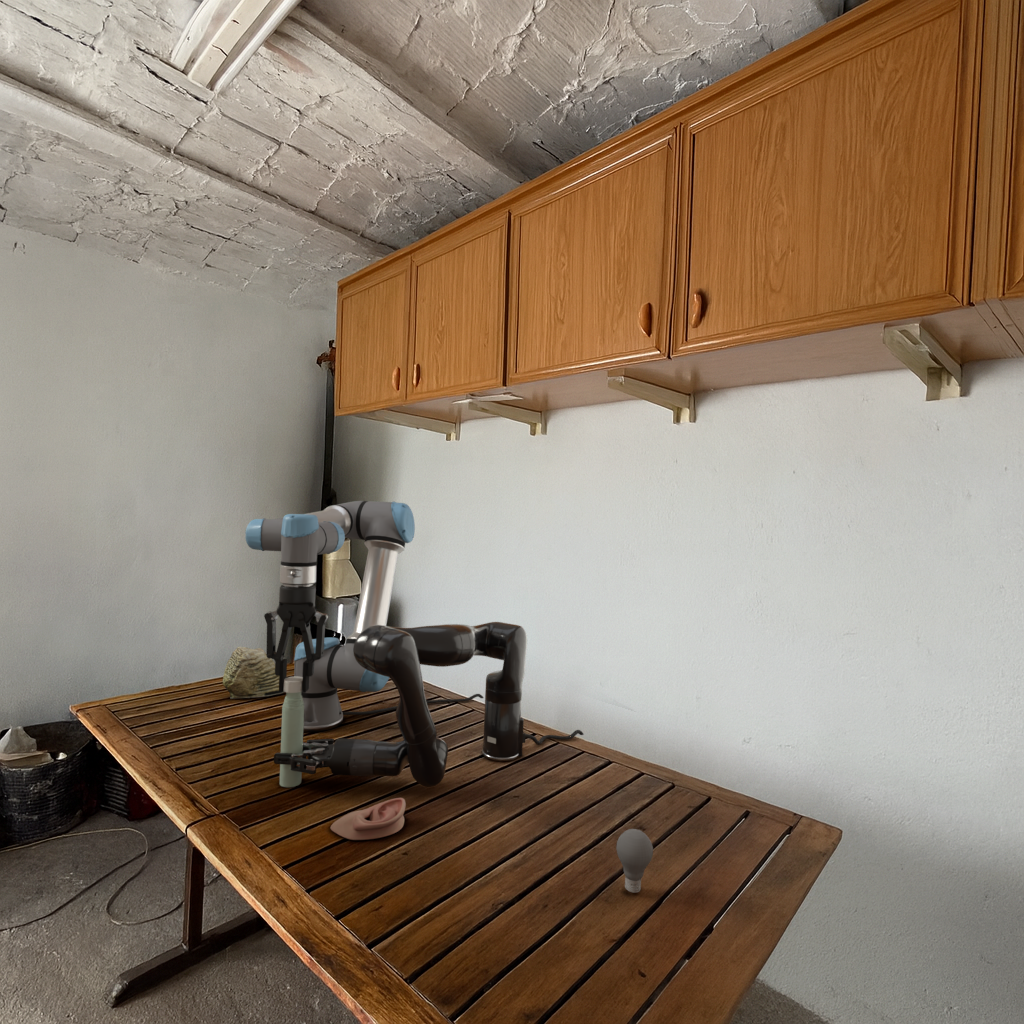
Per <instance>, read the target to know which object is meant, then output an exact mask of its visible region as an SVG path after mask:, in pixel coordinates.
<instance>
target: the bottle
mask: <svg viewBox="0 0 1024 1024" xmlns="http://www.w3.org/2000/svg"><path fill="white" fill-rule="evenodd" d="M303 726H304V703H303V698H302V695H301V692H298V693H287V692H285V697H284V700H283V704H282V706H281V731H280V732H281V733H280V753H292V754H294V753H302V752H303V743H304V732H303ZM298 758H302V757H298ZM298 767H300V766H298ZM302 774H303V772H298V771H292V770H291V765H287V764H279V786H280V787H283V788H295V787H296V786H299V785H300V784H302V779H303V777H302V776H303V775H302Z"/></svg>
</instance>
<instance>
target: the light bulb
mask: <svg viewBox="0 0 1024 1024" xmlns="http://www.w3.org/2000/svg"><path fill="white" fill-rule="evenodd" d="M615 849H616V854H617V857H618V859H619V861H620V863H621V865H622V867H623V873H624V874H623V875H624V876H625V878H624V888H625V890H627V891H628V892H630V893H634V894H635V893H639V892H640V891H641V889H642V887H641V886H642V879H643V877H644V875H645V871H646V868H647V867H648V866H649V864H650V863H651V861H652V859H653V855H654V847H653V843H652V841H651V838H649V836H648V835H647V834H646V833H645V832H643V831H642V830H641V829H636V828H629V829H627V830H625V831H623V832H622V833H621V834H620V835H619V837H618V839H617V841H616V847H615Z"/></svg>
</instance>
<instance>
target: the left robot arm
mask: <svg viewBox="0 0 1024 1024" xmlns="http://www.w3.org/2000/svg"><path fill="white" fill-rule="evenodd" d="M413 513H414V512H413V511H412V508H411V507H410V506H409V505H408V504H407V503H406V502H405V503H404V502H396V501H378V500H377V501H374V500H354V501H348V502H343V503H338V504H333V505H329V506H327V507H326V508H324V509H323V510H319V511H313V512H307V513H287V514H285V515H284V516H283V517H278V518H265V517H263V518H255V519H251V520H250V521H249V523H247V525H246V529H245V541H246V542H245V543H246V544H247V546H248V547H249V548H250V549H251V550H256V551H262V552H280V565H279V568H280V569H279V574H280V575H279V583H280V584H281V585H280V586H279V592H278V593H279V597H278V606H277V607H276V609H275V610H273V611H272V610H271V611H267V612H266V613H264V615H263V617H264V620H265V623H266V654H267V658H271V659H272V660H273V661H274V663H275V675H277V676H279V692H283V690H284V679H285V678H287V674H288V658H285V654H286V649H287V645H288V642H289V639H290V634H291V632H292V628H299V630H300V632H301V636H302V642H299V643H298V644H297V645H296V647H295V652H294V653H295V654H294V659H293V661H294V672H293V677H294V676H298V677H303V679H302V692H301V695H302V698H303V703H304V726H303V733H316V732H325V731H329V730H332V729H335V728H337V727H339V726H340V725H342V723H343V722H344V716H365V715H374V714H379V713H385V712H389V711H394V710H395V711H396V710H397V705H393V706H389V707H385V708H380V709H375V710H367V711H343V709H342V706H341V702H340V699H339V695H338V689H339V690H347V691H357V692H362V693H377V692H379V691H381V690H382V689H383V688H384V687H385V686H386V684H388V682H389V680H390V677H387V676H383V675H380V674H377V673H374V672H371V671H368V670H366V669H365V668H363V667H362V666H361V665H359V664H358V662H357V661H356V659H355V657H354V652H353V647H354V643H355V641H356V639H357V637H358V636H359V635H360V634H361V633H362V632H363V631H364V630H365V629H367V628H369V627H371V626H374V625H384V626H387V623H388V618H389V611H390V606H391V600H392V593H393V588H394V581H395V576H396V569H397V564H398V558H399V555H400V554H401V553H403V552H404V551H405V549H406V544H409V543H411V542H412V541H413V539H414V537H415V530H416V527H415V517H414V514H413ZM346 539H351V540H352V539H353V540H361V541H364V544H363V545H364V546H365V547H366V548H367V550H368V551H367V556H366V561H365V568H364V572H363V578H362V582H361V583H362V584H361V589H360V594H359V600H358V606H357V611H356V616H355V621H354V627H353V631H352V633H351V634H350V635H348V636H347V637H346V638H345V639H346V640H345V644H340V643H341V641H340V639H339V638H338V637H334V636H333V637H325V636H326V635H325V634H326V624H327V621H328V619H329V614H328V613H327V612H324V613H323V612H321V611H318V609H317V606H316V591H317V589H316V588H317V587H316V585H314V584H316V583H317V561H318V559H317V558H318V555H330V554H333V553H335V552H338V551H340V550H341V549H342V547H343V546H344V543H345V541H346ZM278 617H279V619H280V620H281V622H282V627H281V634H280V637H279V641H278V644H277V620H278ZM314 617H315V621H316V623H317V625H316V636H315V638H313V637H312V631H311V624H310V623H311V621H312V620H313V619H314ZM283 693H284V692H283ZM475 698H480V699H485V696H483V695H482V694H481V693H475V694H473V695H471V696H469V697H465V699H464V698H449V699H447V698H445V699H444V698H443V699H431V700H426V702H427V705H429V704H440V703H463V702H469V701H471V700H473V699H475Z"/></svg>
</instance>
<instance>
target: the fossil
mask: <svg viewBox="0 0 1024 1024" xmlns="http://www.w3.org/2000/svg"><path fill="white" fill-rule="evenodd" d="M222 676H223V677H222V685H223V687H224V688H225V690H226V691H228V693H229V698H230V699H250V698H264V697H271V696H275V695H281V694H284V693H285V692H284V691H283V692H279V676H277V675H275V660H274V659H272V658H267V652H265V650H264V649H263V648H260V647H258V648H251V647H247V646H246V647H245V646H238V647H237V648H236V649H235V650H233V651H232V653H231V656H230V657H229V659H228V660H227V663H226V666H225V668H224V671H223V675H222Z"/></svg>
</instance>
